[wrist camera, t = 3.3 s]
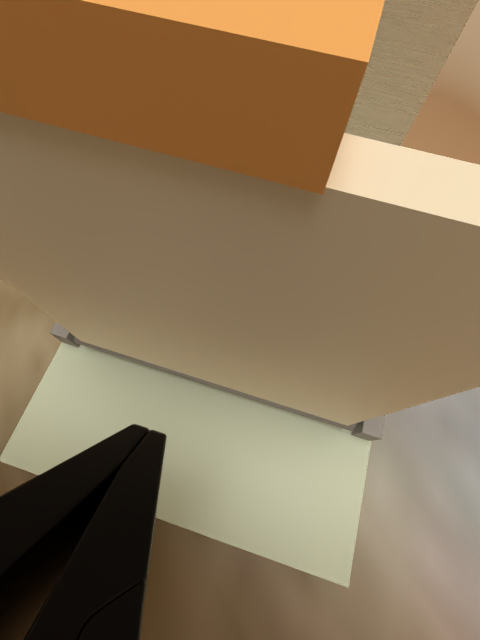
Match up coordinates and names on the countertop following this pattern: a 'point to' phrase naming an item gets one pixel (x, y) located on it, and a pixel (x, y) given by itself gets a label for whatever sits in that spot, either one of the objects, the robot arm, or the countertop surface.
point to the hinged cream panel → (233, 203)
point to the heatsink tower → (405, 65)
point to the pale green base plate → (210, 456)
